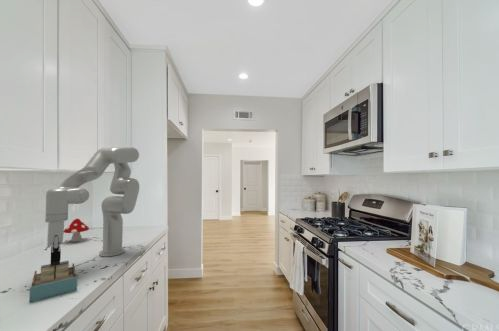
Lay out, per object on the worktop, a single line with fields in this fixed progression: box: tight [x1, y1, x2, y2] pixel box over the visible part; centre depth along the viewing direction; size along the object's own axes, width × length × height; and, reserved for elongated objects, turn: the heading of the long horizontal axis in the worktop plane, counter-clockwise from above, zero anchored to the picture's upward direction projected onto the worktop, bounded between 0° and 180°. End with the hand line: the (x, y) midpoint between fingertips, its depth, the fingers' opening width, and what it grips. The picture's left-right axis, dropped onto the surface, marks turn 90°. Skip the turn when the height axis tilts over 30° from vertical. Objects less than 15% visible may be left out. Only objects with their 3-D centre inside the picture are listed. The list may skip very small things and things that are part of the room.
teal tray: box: [29, 276, 78, 303], centre depth 86 cm, size 8×13×5 cm, turn 130°
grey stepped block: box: [40, 245, 70, 271], centre depth 99 cm, size 3×9×10 cm, turn 130°
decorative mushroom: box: [64, 218, 90, 243], centre depth 153 cm, size 14×14×15 cm
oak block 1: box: [40, 266, 54, 282], centre depth 93 cm, size 4×4×4 cm
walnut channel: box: [31, 263, 77, 287], centre depth 95 cm, size 14×13×4 cm
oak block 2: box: [56, 264, 70, 279], centre depth 95 cm, size 4×4×4 cm
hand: (55, 260), depth 99 cm, fingers closed on grey stepped block, 3 cm apart
